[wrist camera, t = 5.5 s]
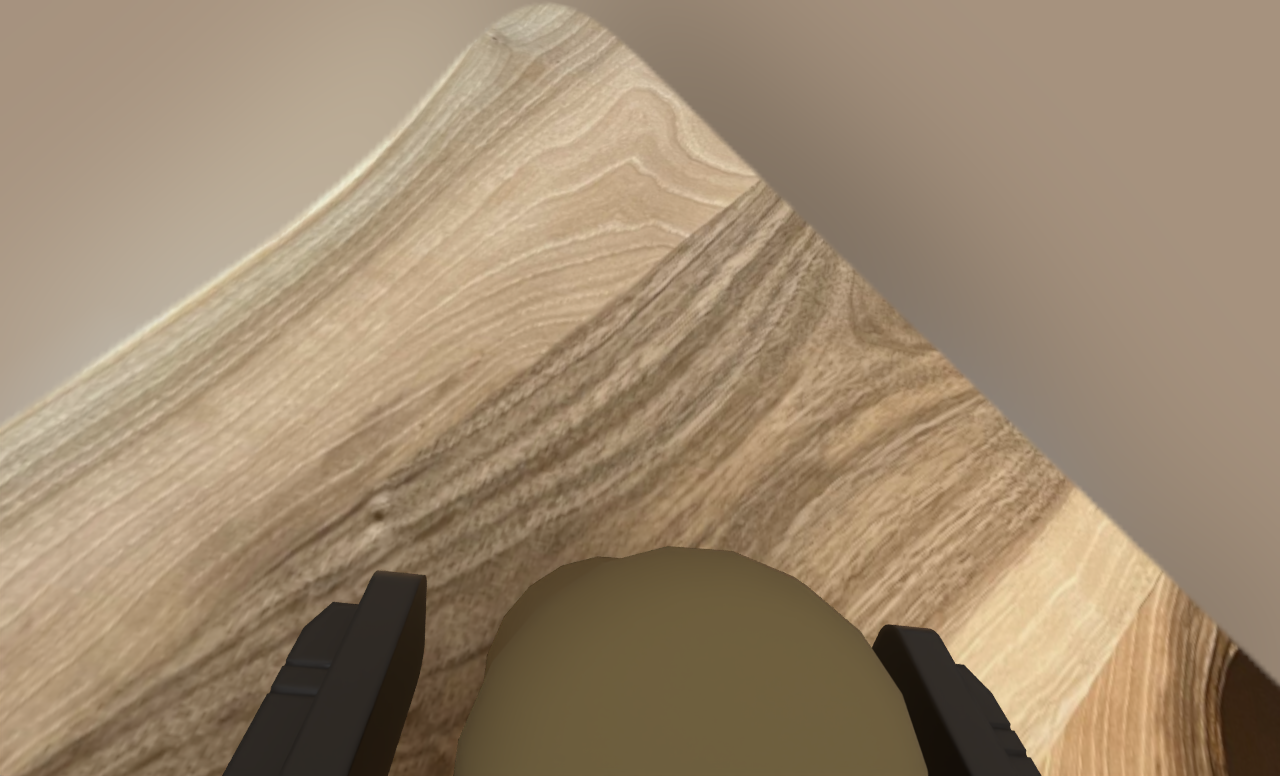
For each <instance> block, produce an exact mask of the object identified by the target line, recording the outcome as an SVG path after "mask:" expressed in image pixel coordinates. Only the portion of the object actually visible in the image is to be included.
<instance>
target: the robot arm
mask: <svg viewBox="0 0 1280 776" xmlns="http://www.w3.org/2000/svg"><path fill="white" fill-rule="evenodd" d="M426 590H427V580H426V576H425V575H418V574H408V573H398V572H388V571H379V570H378V571H376V572H375V573H374V575H373V576H372V578H371V580H370V582H369V584H368V586H367V588H366V590H365V593H364V595H363V597H362V599H361V601H360V603H359V604H349V603H338V602H332V603H331V604H330V605H329V606H328V607H327V608H326V609H324V610H323V611H322V612H321V613H320V614H319V615H318V616H316V617H315V618H314V619H313V620H312V621H311V622H310V623H308V624H307V625H306V626H305V627H304V628H303V630H302V632H301V634H300V635H299V637H298V639H297V641H296V643H295V644H294V646H293V648H292V650H291V652H290V653H289V655H288V657H287V659H286V664H285V666H282V668H281V670H280V672H279V673H278V675H277V677H276V679H275V681H274V683H273V684H272V686H271V691H270V693H269V694H267V695H266V697H265V699H264V701H263V702H262V704H261V706H260V708H259V710H258V712H257V713H256V715H255V717H254V719H253V721H252V722H251V724H250V726H249V728H248V730H247V732H246V733H245V735H244V737H243V739H242V741H241V742H240V744H239V746H238V748H237V750H236V751H235V753H234V755H233V757H232V759H231V761H230V762H229V764H228V766H227V768H226V770H225V771H224V773H223V775H222V776H388V773H389V770H390V767H391V764H392V761H393V758H394V754H395V751H396V748H397V745H398V742H399V739H400V736H401V732H402V729H403V726H404V723H405V720H406V717H407V714H408V710H409V707H410V704H411V701H412V698H413V695H414V692H415V688H416V685H417V682H418V678H419V674H420V670H421V665H422V659H423V653H424V645H425V619H426ZM872 649H873V651H874V652H875V654H876V655H877V657H878V658H879V660H880V661H881V663H882V664H883V666H884V667H885V669H886V670H887V672H888V673H889V675H890V676H891V678H892V680H893V681H894V683H895V684H896V686H897V687H898V689H899V690H900V692H901V693H902V695H903V698H904V701H905V704H906V707H907V710H908V713H909V716H910V719H911V722H912V725H913V728H914V731H915V734H916V737H917V740H918V743H919V746H920V749H921V752H922V755H923V758H924V761H925V764H926V767H927V770H928V776H1041V774H1040V772H1039V771H1038V769H1037V767H1036V766H1035V764H1034V762H1033V761H1032V759H1031V758H1030V757H1027V755H1026V749H1025V748H1024V746H1023V744H1022V743H1021V741H1020V739H1019V738H1018V736H1017V734H1016V733H1015V731H1012V730H1011V729H1010V725H1011V724H1010V723H1009V721H1008V719H1007V718H1006V716H1005V714H1004V713H1003V711H1002V709H1001V708H1000V706H999V704H998V703H997V701H996V699H995V698H994V696H993V694H992V693H991V692H990V691H989V690H988V689H987V688H986V687H985V686H984V685H983V684H982V683H981V682H980V681H979V680H978V679H977V678H976V677H975V676H974V675H973V674H972V673H971V671H970V670H969V669H968V668H967V667H966V666H965V665H961V664H955V662H954V660H953V659H952V657H951V655H950V653H949V652H948V650H947V648H946V646H945V645H944V643H943V641H942V639H941V638H940V636H939V635H938V634H937V633H936V632H935V631H934V630H932V629H928V628H919V627H909V626H899V625H889V624H888V625H885V626H884V627H883V628H882V629H881V630H880V632H879V634H878V636H877V638H876V640H875V642H874V644H873V647H872Z"/></svg>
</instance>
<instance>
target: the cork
mask: <svg viewBox="0 0 1280 776" xmlns="http://www.w3.org/2000/svg"><path fill="white" fill-rule="evenodd" d="M453 776H928V770H927V767H926V764H925V761H924V758H923V755H922V752H921V749H920V746H919V743H918V740H917V737H916V734H915V731H914V728H913V725H912V722H911V719H910V716H909V713H908V710H907V707H906V704H905V701H904V698H903V695H902V693H901V692H900V690H899V689H898V687H897V686H896V684H895V683H894V681H893V680H892V678H891V676H890V675H889V673H888V672H887V670H886V669H885V667H884V666H883V664H882V663H881V661H880V660H879V658H878V657H877V655H876V654H875V652H874V651H873V649H872V648H871V646H870V645H869V643H868V642H867V640H866V639H865V637H864V636H863V634H862V633H861V631H860V630H858V629H857V628H856V627H855V626H854V625H852V624H851V623H850V622H849V621H848V620H847V619H845V618H844V617H843V616H842V615H841V614H840V613H838V612H837V611H836V610H835V609H834V608H832V607H831V606H830V605H829V604H828V603H827V602H825V601H824V600H823V599H822V598H821V597H819V596H818V595H817V594H816V593H815V592H814V591H812V590H811V589H810V588H809V587H808V586H806V585H805V584H804V583H802V582H801V581H799V580H798V579H796V578H795V577H793V576H791V575H788V574H786V573H784V572H781V571H779V570H776V569H774V568H772V567H769V566H767V565H765V564H762V563H760V562H757V561H755V560H753V559H750V558H748V557H746V556H743V555H741V554H739V553H736V552H734V551H724V550H711V549H697V548H684V547H671V546H667V547H663V548H659V549H655V550H651V551H648V552H644V553H640V554H636V555H632V556H628V557H624V558H609V557H594V558H590V559H587V560H583V561H579V562H575V563H571V564H567V565H563V566H561V567H559V568H558V569H556V570H555V571H553V572H552V573H550V574H548V575H547V576H545V577H544V578H542V579H541V580H539V581H537V582H536V583H534V584H533V585H531V586H530V587H529V588H528V589H527V590H526V591H525V593H524V594H523V595H522V596H521V597H520V599H519V600H518V601H517V602H516V603H515V604H514V606H513V607H512V608H511V609H510V610H509V611H508V613H507V614H506V615H505V616H504V618H503V620H502V622H501V625H500V627H499V629H498V632H497V634H496V636H495V638H494V641H493V643H492V645H491V647H490V650H489V652H488V654H487V661H486V669H485V677H484V682H483V684H482V686H481V689H480V691H479V693H478V696H477V698H476V700H475V703H474V705H473V707H472V709H471V712H470V714H469V716H468V719H467V721H466V723H465V726H464V728H463V730H462V732H461V735H460V737H459V739H458V746H457V753H456V760H455V768H454V775H453Z"/></svg>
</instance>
